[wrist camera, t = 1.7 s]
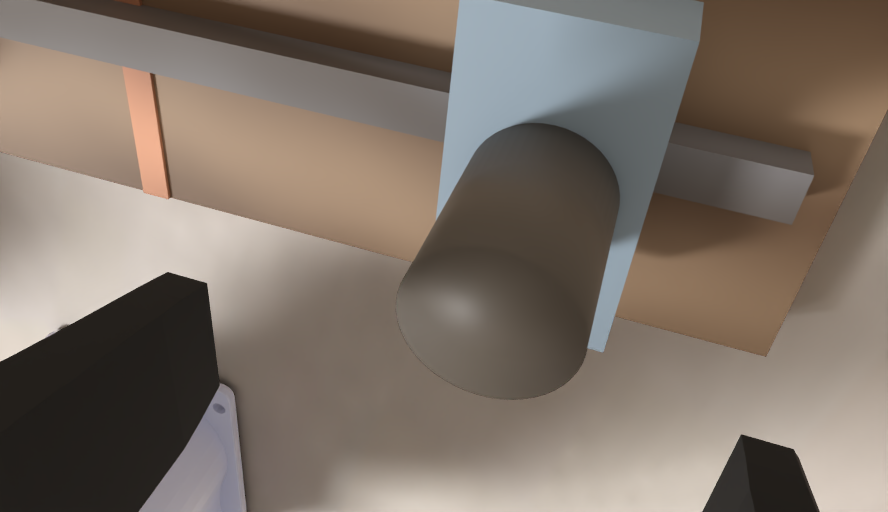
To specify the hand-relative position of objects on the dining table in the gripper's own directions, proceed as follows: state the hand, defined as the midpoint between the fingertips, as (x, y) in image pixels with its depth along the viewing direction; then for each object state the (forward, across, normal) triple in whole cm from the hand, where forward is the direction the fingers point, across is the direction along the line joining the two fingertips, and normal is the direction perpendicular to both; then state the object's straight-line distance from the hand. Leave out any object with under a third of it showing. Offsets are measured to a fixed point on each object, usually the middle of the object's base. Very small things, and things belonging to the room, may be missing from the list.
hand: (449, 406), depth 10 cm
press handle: (+8, 0, 0) cm, 8 cm away
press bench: (+10, +8, 0) cm, 13 cm away
